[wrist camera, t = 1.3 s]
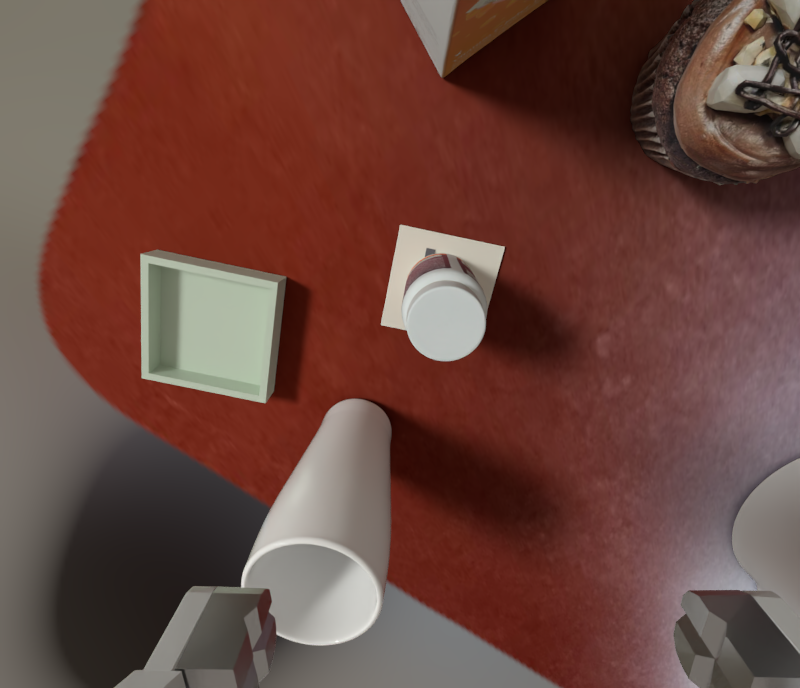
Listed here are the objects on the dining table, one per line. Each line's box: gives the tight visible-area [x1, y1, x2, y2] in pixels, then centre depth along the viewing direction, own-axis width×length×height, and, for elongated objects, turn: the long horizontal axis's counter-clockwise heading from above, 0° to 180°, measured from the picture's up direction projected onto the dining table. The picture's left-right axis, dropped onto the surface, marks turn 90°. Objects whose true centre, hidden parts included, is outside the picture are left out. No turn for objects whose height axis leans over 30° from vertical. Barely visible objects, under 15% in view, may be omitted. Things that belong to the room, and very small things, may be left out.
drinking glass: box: [241, 399, 392, 645], centre depth 27 cm, size 7×7×15 cm
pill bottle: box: [401, 253, 487, 361], centre depth 26 cm, size 5×5×8 cm
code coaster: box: [381, 225, 505, 330], centre depth 30 cm, size 7×7×1 cm
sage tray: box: [141, 250, 286, 403], centre depth 31 cm, size 9×9×2 cm
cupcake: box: [630, 0, 800, 185], centre depth 21 cm, size 10×10×10 cm
